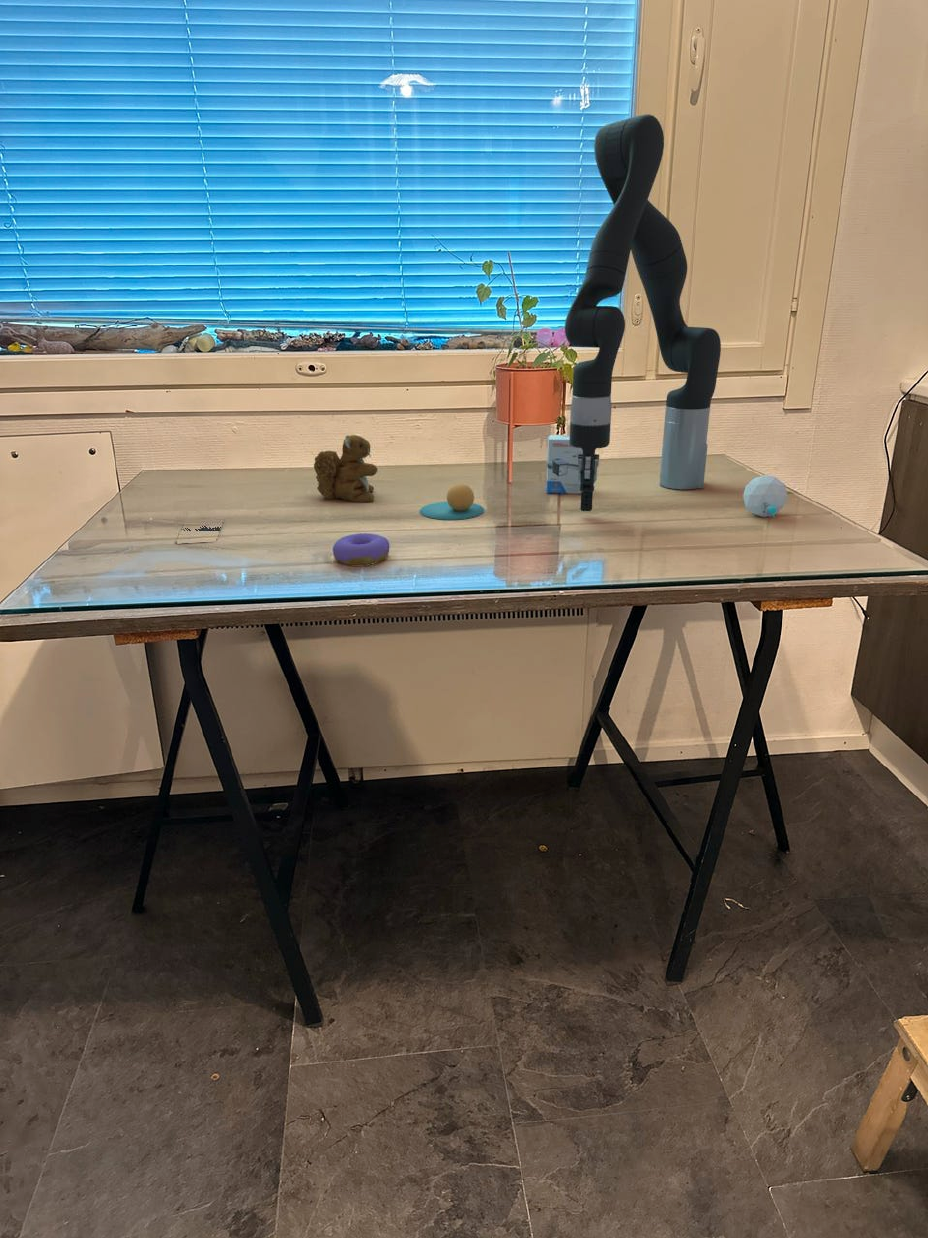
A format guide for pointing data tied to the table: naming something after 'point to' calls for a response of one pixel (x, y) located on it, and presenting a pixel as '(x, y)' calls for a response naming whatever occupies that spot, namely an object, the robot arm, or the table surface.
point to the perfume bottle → (765, 496)
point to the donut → (361, 549)
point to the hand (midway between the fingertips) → (586, 509)
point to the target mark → (450, 511)
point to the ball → (460, 497)
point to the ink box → (562, 466)
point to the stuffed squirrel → (346, 471)
